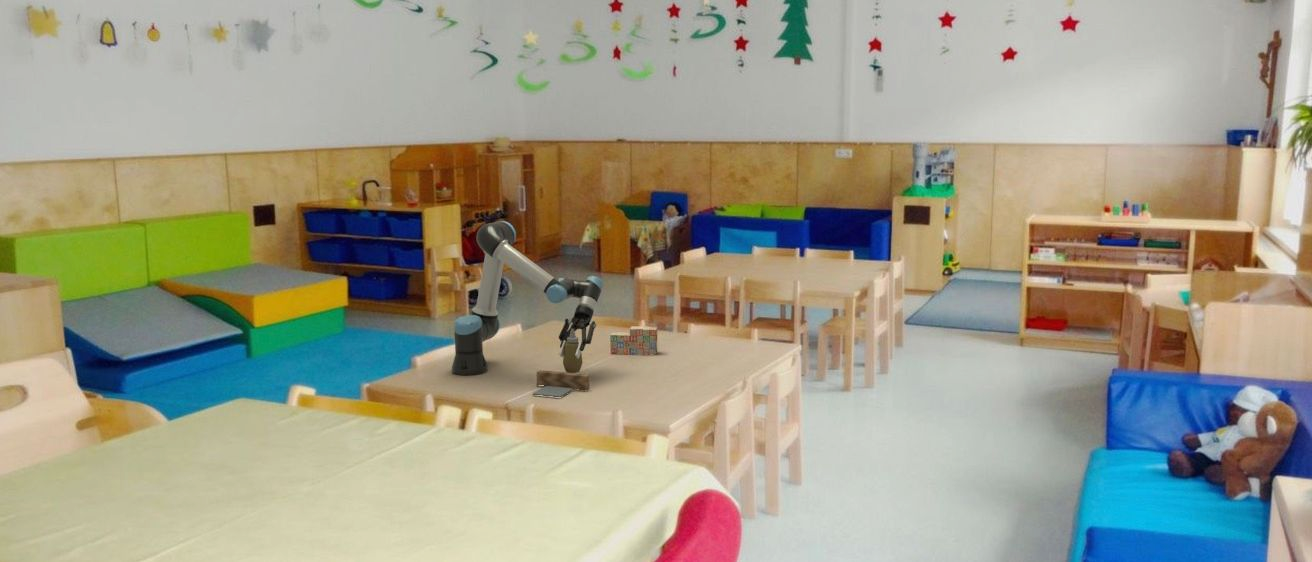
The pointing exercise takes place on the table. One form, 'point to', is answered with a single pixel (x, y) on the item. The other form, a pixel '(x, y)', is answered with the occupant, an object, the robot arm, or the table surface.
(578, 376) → the walnut rail
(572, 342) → the squeeze bottle
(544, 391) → the grey rubber pad
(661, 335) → the table surface
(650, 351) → the stack of blocks
